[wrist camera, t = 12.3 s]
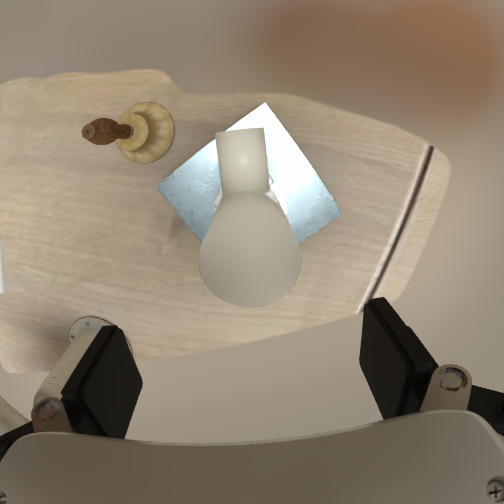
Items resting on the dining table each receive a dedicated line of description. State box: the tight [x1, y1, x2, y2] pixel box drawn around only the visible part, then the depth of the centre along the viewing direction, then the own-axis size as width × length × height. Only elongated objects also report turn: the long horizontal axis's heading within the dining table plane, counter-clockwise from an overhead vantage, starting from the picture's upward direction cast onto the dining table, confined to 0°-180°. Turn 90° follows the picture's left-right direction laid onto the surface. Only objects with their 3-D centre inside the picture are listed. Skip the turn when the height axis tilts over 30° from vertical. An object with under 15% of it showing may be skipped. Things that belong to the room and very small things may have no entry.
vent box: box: [156, 103, 342, 244], centre depth 35 cm, size 16×16×10 cm
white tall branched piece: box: [199, 127, 301, 307], centre depth 25 cm, size 11×6×16 cm, turn 6°
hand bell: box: [82, 102, 175, 163], centre depth 29 cm, size 8×8×16 cm
